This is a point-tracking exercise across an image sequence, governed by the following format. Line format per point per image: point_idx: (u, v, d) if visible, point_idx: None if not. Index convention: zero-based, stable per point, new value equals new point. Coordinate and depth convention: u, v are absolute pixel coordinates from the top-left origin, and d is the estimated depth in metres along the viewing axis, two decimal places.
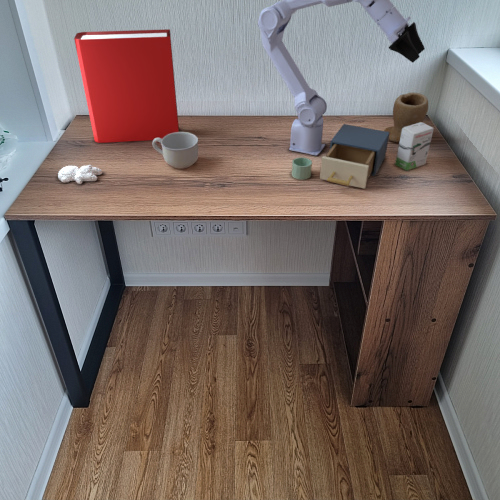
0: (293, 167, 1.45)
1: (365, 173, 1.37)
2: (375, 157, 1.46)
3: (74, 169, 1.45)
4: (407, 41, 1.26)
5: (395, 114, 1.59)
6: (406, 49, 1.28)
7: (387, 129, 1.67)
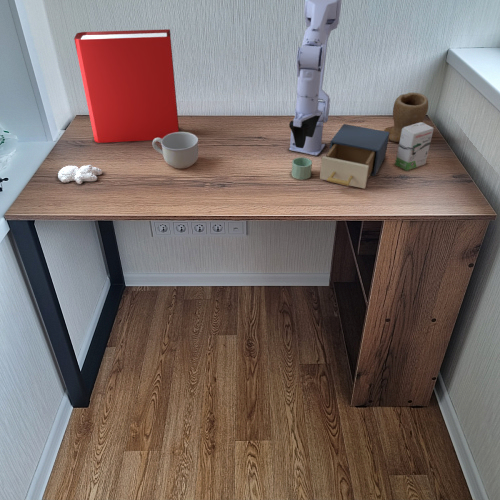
0: (293, 167, 1.45)
1: (365, 173, 1.37)
2: (375, 157, 1.46)
3: (74, 169, 1.45)
4: (304, 133, 1.33)
5: (395, 114, 1.59)
6: (299, 135, 1.36)
7: (387, 129, 1.67)
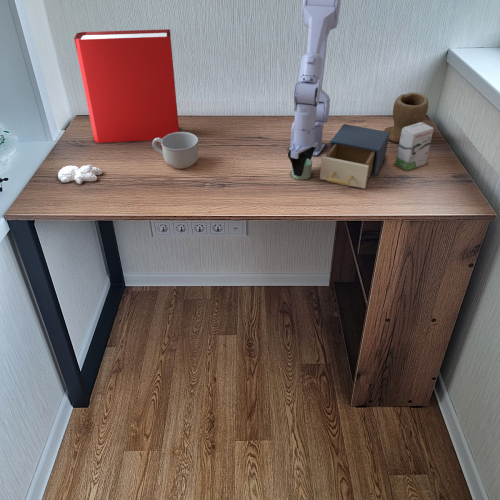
0: None
1: (365, 173, 1.37)
2: (375, 157, 1.46)
3: (74, 169, 1.45)
4: (302, 162, 1.40)
5: (395, 114, 1.59)
6: (297, 164, 1.42)
7: (387, 129, 1.67)
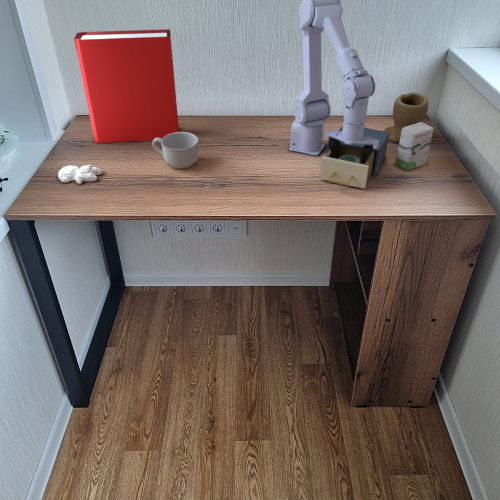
0: None
1: (365, 173, 1.37)
2: (375, 157, 1.46)
3: (74, 169, 1.45)
4: None
5: (395, 114, 1.59)
6: None
7: (387, 129, 1.67)
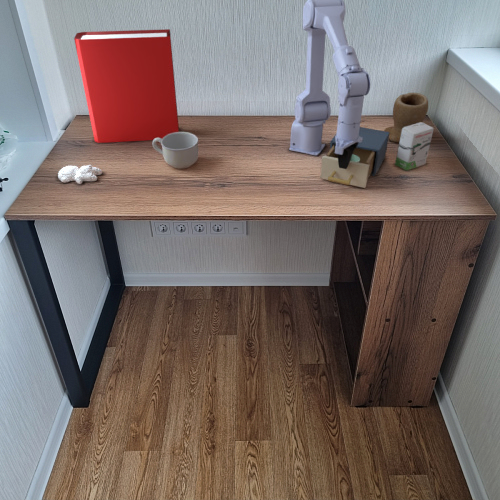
0: None
1: (365, 172, 1.37)
2: (375, 156, 1.47)
3: (74, 169, 1.45)
4: (349, 154, 1.33)
5: (395, 114, 1.59)
6: (344, 156, 1.35)
7: (387, 129, 1.67)
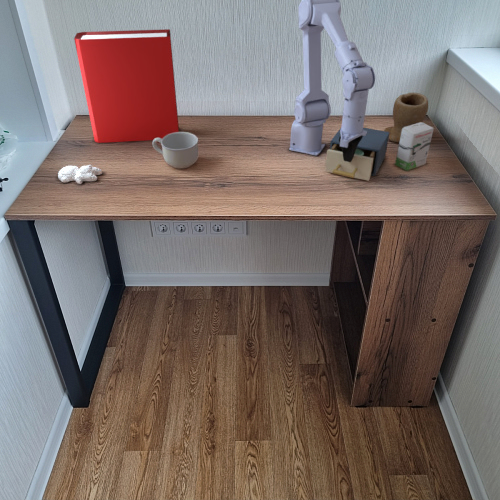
0: None
1: (369, 165, 1.41)
2: None
3: (74, 169, 1.45)
4: (353, 147, 1.36)
5: (395, 114, 1.59)
6: (348, 149, 1.39)
7: (387, 129, 1.67)
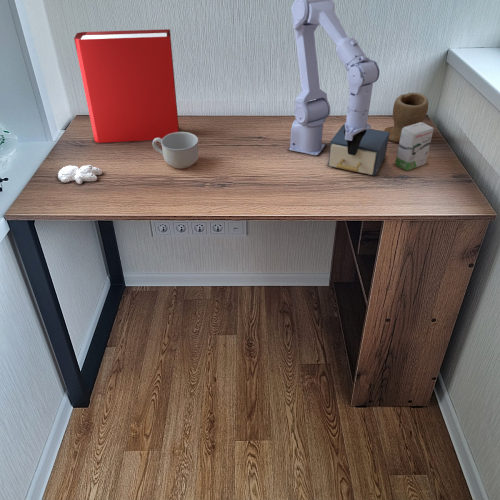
0: None
1: (373, 160, 1.43)
2: None
3: (74, 169, 1.45)
4: (358, 140, 1.40)
5: (395, 114, 1.59)
6: (353, 142, 1.42)
7: (387, 129, 1.67)
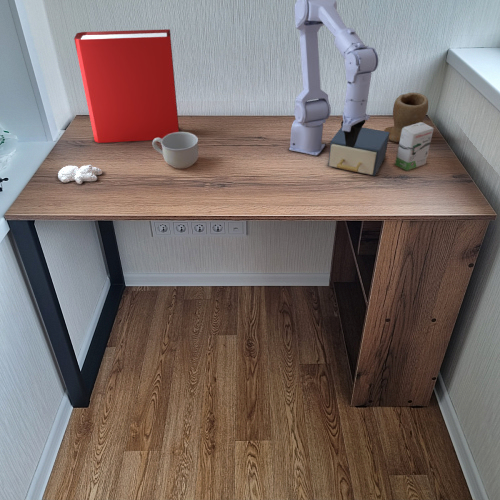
0: None
1: (373, 160, 1.43)
2: None
3: (74, 169, 1.45)
4: (356, 132, 1.34)
5: (395, 114, 1.59)
6: (351, 134, 1.36)
7: (387, 129, 1.67)
